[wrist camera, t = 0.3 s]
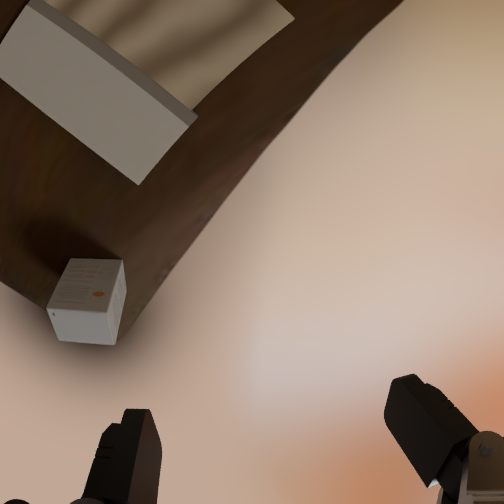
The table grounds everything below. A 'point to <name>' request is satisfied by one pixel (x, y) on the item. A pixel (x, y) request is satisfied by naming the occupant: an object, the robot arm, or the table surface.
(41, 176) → the table surface
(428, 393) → the robot arm
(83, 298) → the small box
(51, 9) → the grey board
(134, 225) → the table surface
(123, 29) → the oak plank
